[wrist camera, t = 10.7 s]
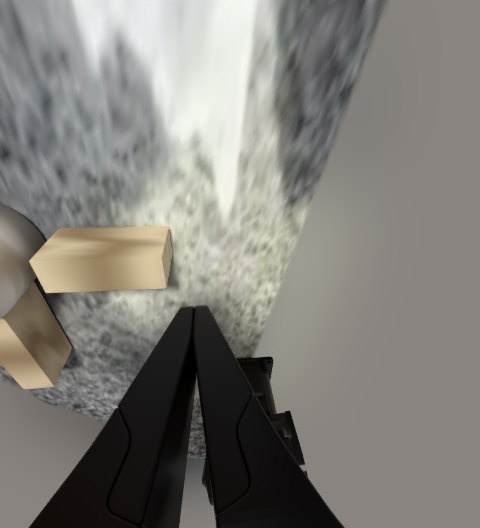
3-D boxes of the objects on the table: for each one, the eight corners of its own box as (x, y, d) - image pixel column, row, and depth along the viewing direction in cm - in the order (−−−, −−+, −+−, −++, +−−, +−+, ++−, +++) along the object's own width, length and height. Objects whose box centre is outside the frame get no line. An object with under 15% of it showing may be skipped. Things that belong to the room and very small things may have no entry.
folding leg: (71, 257, 20) (45, 293, 17) (59, 227, 18) (28, 261, 15) (172, 254, 21) (166, 288, 18) (168, 226, 19) (161, 257, 16)
